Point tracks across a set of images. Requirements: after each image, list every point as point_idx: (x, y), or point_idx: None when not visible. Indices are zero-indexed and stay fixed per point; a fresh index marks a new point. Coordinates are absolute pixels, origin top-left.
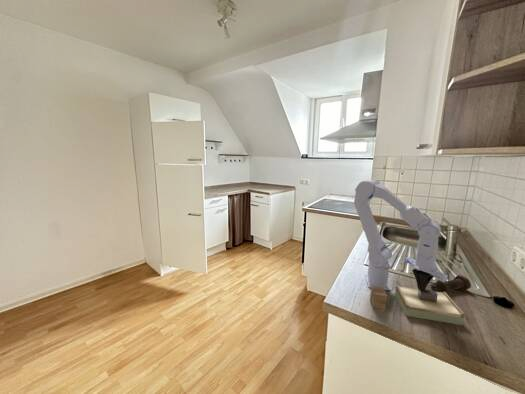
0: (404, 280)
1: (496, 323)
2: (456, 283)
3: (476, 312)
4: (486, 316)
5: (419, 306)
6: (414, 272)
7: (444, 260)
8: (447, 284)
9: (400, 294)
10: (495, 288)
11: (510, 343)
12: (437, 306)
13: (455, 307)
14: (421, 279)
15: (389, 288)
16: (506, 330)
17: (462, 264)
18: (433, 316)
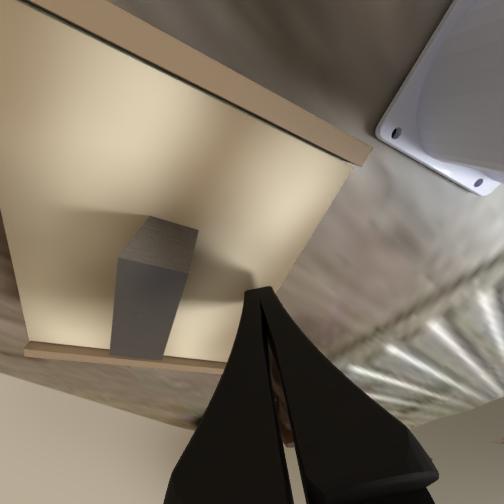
0: (398, 283)
1: (119, 382)
2: (286, 413)
3: (169, 371)
4: (151, 379)
5: (24, 136)
6: (364, 439)
7: (400, 418)
8: (283, 398)
9: (230, 71)
10: None
11: (12, 364)
12: (80, 280)
13: (101, 349)
14: (242, 389)
15: (390, 136)
16: (88, 384)
17: None
18: None
